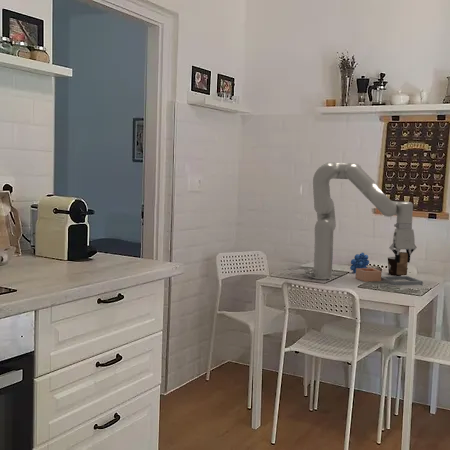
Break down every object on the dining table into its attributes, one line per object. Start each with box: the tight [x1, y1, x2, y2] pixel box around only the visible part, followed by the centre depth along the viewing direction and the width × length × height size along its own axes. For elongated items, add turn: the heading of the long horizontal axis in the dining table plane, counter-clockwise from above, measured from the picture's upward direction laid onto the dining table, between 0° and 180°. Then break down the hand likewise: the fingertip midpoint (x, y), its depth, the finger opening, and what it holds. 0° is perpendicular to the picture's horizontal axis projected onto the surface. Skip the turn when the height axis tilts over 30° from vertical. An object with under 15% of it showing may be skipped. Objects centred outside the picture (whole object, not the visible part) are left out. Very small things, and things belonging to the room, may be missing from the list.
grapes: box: [349, 252, 370, 274], centre depth 337 cm, size 12×7×12 cm, turn 111°
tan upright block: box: [397, 251, 409, 276], centre depth 313 cm, size 5×5×11 cm
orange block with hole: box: [355, 267, 382, 283], centre depth 319 cm, size 9×9×6 cm
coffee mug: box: [387, 256, 402, 276], centre depth 335 cm, size 12×9×10 cm
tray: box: [381, 275, 424, 286], centre depth 315 cm, size 16×14×2 cm
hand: (402, 261), depth 313 cm, fingers closed on tan upright block, 4 cm apart
